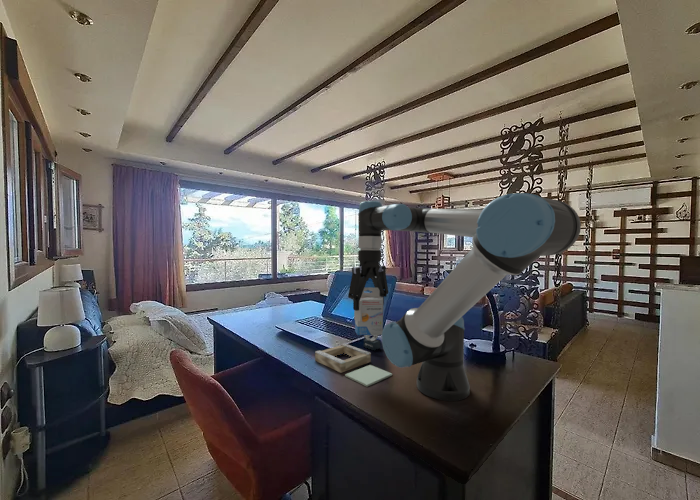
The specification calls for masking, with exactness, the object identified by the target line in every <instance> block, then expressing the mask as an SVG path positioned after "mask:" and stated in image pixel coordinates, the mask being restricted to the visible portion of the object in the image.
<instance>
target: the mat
mask: <svg viewBox="0 0 700 500" xmlns="http://www.w3.org/2000/svg"><path fill="white" fill-rule="evenodd" d="M344 376H345V378H348V379H350V380H352V381H354V382H356V383H358V384H361V385H363V386H364V387H368V388H369V386H372V385H375V384H376V383H378V382H382V381H383V380H385V379H387V378H390V377H393V373H391V372H389V371H387V370H384V369H382V368H380V367H377V366H374V365H372V364H369V365H366V366H364V367H361V368H359V369H355V370H352V371H351V372H347V373H344Z"/></svg>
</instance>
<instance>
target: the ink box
mask: <svg viewBox="0 0 700 500" xmlns="http://www.w3.org/2000/svg"><path fill="white" fill-rule="evenodd" d="M368 291H369V292H368ZM360 300H362V321H357V320H354V332H355V333H356V335H357V336H364V335H370V336H373V335H378V336H382V331H383V329H384V327H383V326H384V305H383V299H382V298H381V297H380V290H379V289H378V288H375V287H364V290H363V293H362V296H361V298H360Z"/></svg>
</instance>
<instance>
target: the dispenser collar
mask: <svg viewBox="0 0 700 500" xmlns="http://www.w3.org/2000/svg"><path fill="white" fill-rule="evenodd" d="M343 353H344V354H343ZM340 354H343V355H345V354H347V355H349V356H348V358H346V359H341V358H339V357H338V356H337V355H340ZM314 355H315V356H314V361H315V362H317V363H319V364H321V365H324V366H326V367H328V368H329V369H332V370H334V371H337V372H338V373H341V374H342V373H344V372H347V371H350V370H353V369H355V368H357V367H361V366H363V365H366V364H368V363H372V361H371V360H372V359H371V355H372V353H371V352H370V351H367V350H364V349H362V348H358V347H356V346H352V345H350V344H347V343H345V342H344V343H341V344H340V345H337V346H334V347H331V348H326V349H324V350H323V349H322V350H315V353H314ZM347 355H346V356H347ZM335 356H336V357H335ZM340 356H341V355H340ZM350 356H351V357H350ZM349 357H350V358H349Z"/></svg>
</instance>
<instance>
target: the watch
mask: <svg viewBox="0 0 700 500" xmlns="http://www.w3.org/2000/svg"><path fill="white" fill-rule="evenodd" d="M363 336H364V338H365V339H363V348H364V347H365V349H367V348H368V349H367V350H370V349H371V351H373V350H374V351H376V349H377V350H378V349H381V340H379V339H378V337H379V335H372V337H371V335H363Z"/></svg>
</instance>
